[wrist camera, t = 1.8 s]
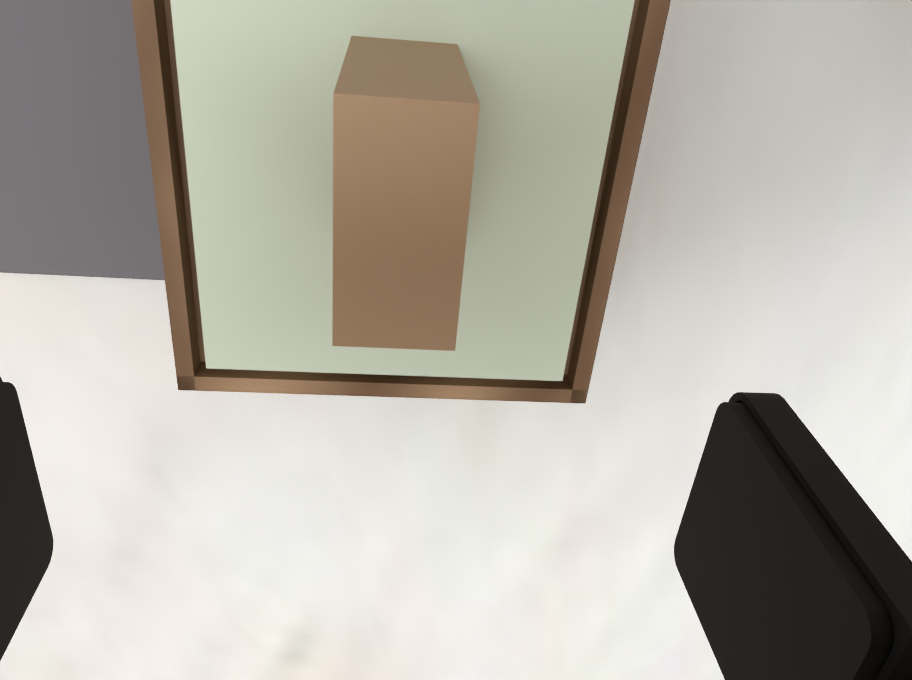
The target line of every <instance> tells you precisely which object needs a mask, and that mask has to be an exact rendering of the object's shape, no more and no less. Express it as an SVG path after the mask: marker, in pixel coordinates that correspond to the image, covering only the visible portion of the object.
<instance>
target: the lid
mask: <svg viewBox="0 0 912 680" xmlns="http://www.w3.org/2000/svg"><path fill="white" fill-rule="evenodd" d="M634 1H635V0H170V2H171V12H172V22H173V33H174V43H175V53H176V64H177V74H178V84H179V95H180V105H181V115H182V126H183V136H184V146H185V157H186V167H187V177H188V187H189V198H190V208H191V218H192V229H193V239H194V249H195V260H196V270H197V280H198V291H199V301H200V311H201V322H202V332H203V342H204V353H205V363H206V368H209V369H236V370H264V371H292V372H320V373H348V374H376V375H404V376H432V377H460V378H488V379H515V380H543V381H563V376H564V370H565V365H566V360H567V354H568V349H569V344H570V339H571V333H572V328H573V323H574V318H575V312H576V307H577V302H578V296H579V291H580V286H581V281H582V275H583V270H584V265H585V260H586V254H587V249H588V244H589V238H590V233H591V228H592V223H593V217H594V212H595V207H596V201H597V196H598V191H599V186H600V180H601V175H602V170H603V165H604V159H605V154H606V149H607V143H608V138H609V133H610V128H611V122H612V117H613V112H614V106H615V101H616V96H617V91H618V85H619V80H620V75H621V70H622V64H623V59H624V54H625V48H626V43H627V38H628V33H629V27H630V22H631V17H632V12H633V6H634Z"/></svg>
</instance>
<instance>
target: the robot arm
mask: <svg viewBox="0 0 912 680" xmlns="http://www.w3.org/2000/svg"><path fill="white" fill-rule="evenodd" d="M52 551H53V536H52V532H51V528H50V524H49V520H48V516H47V511H46V507H45V503H44V499H43V495H42V491H41V487H40V483H39V479H38V475H37V471H36V467H35V463H34V459H33V455H32V451H31V447H30V443H29V439H28V435H27V431H26V427H25V423H24V419H23V415H22V411H21V407H20V403H19V399H18V395H17V391H16V389H15V387H14V386H13V384H11V383H9V382H2V379H1V377H0V660H1V658H2V656H3V654H4V652H5V651H6V649H7V647H8V645H9V643H10V641H11V639H12V637H13V635H14V633H15V631H16V629H17V627H18V625H19V623H20V621H21V619H22V617H23V615H24V613H25V611H26V609H27V607H28V605H29V603H30V601H31V599H32V597H33V595H34V593H35V591H36V589H37V587H38V585H39V583H40V582H41V580H42V578H43V576H44V574H45V572H46V570H47V568H48V565H49V563H50V560H51V556H52ZM674 556H675V562H676V566H677V569H678V571H679V573H680V576H681V578H682V580H683V583H684V585H685V587H686V590H687V592H688V594H689V597H690V599H691V601H692V604H693V606H694V608H695V611H696V613H697V615H698V618H699V620H700V622H701V625H702V627H703V629H704V632H705V634H706V636H707V639H708V641H709V643H710V646H711V648H712V650H713V653H714V655H715V657H716V660H717V662H718V664H719V667H720V669H721V671H722V674H723V676H724V679H725V680H912V562H911V560H910V559H909V558H908V556H907V555H906V554H905V553H904V551H903V550H902V549H901V548H900V546H899V545H898V544H897V542H896V541H895V540H894V539H893V537H892V536H891V535H890V533H889V532H888V531H887V530H886V528H885V527H884V526H883V525H882V523H881V522H880V521H879V519H878V518H877V517H876V516H875V514H874V513H873V512H872V510H871V509H870V508H869V507H868V505H867V504H866V503H865V502H864V500H863V499H862V498H861V496H860V495H859V494H858V493H857V491H856V490H855V489H854V488H853V486H852V485H851V484H850V482H849V481H848V480H847V479H846V477H845V476H844V475H843V473H842V472H841V471H840V470H839V468H838V467H837V466H836V465H835V463H834V462H833V461H832V459H831V458H830V457H829V456H828V454H827V453H826V452H825V450H824V449H823V448H822V447H821V445H820V444H819V443H818V442H817V440H816V439H815V438H814V436H813V435H812V434H811V433H810V431H809V430H808V429H807V427H806V426H805V425H804V424H803V422H802V421H801V420H800V419H799V417H798V416H797V415H796V413H795V412H794V411H793V410H792V408H791V407H790V406H789V405H788V403H787V402H786V401H785V399H784V398H783V397H781V396H780V395H779V394H775V393H743V392H738V393H736V394H734V395H733V396H732V397H731V398H730V400H729V402H724V403H721V404H720V405H719V406H718V408H717V411H716V413H715V417H714V420H713V423H712V426H711V429H710V432H709V436H708V439H707V442H706V445H705V448H704V451H703V454H702V458H701V461H700V464H699V467H698V470H697V473H696V477H695V480H694V483H693V486H692V489H691V492H690V495H689V499H688V502H687V505H686V508H685V511H684V514H683V518H682V521H681V524H680V527H679V530H678V533H677V536H676V540H675V545H674Z"/></svg>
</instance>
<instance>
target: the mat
mask: <svg viewBox="0 0 912 680" xmlns="http://www.w3.org/2000/svg"><path fill="white" fill-rule="evenodd" d="M0 272H4V273H25V274H47V275H68V276H89V277H111V278H132V279H153V280H165V276H164V267H163V259H162V251H161V242H160V234H159V226H158V218H157V209H156V201H155V193H154V185H153V176H152V168H151V160H150V152H149V143H148V135H147V127H146V119H145V110H144V102H143V94H142V86H141V77H140V69H139V61H138V53H137V44H136V36H135V28H134V20H133V11H132V3H131V0H0Z"/></svg>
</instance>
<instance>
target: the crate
mask: <svg viewBox="0 0 912 680" xmlns="http://www.w3.org/2000/svg"><path fill="white" fill-rule="evenodd" d="M670 1H671V0H635V1H634V6H633V12H632V17H631V22H630V27H629V33H628V38H627V43H626V48H625V54H624V59H623V64H622V70H621V75H620V80H619V85H618V91H617V96H616V101H615V106H614V112H613V117H612V122H611V128H610V133H609V138H608V143H607V149H606V154H605V159H604V165H603V170H602V175H601V180H600V186H599V191H598V196H597V201H596V207H595V212H594V217H593V223H592V228H591V233H590V238H589V244H588V249H587V254H586V260H585V265H584V270H583V275H582V281H581V286H580V291H579V296H578V302H577V307H576V312H575V318H574V323H573V328H572V333H571V339H570V344H569V349H568V354H567V360H566V365H565V370H564V376H563V381H543V380H515V379H488V378H460V377H432V376H404V375H376V374H348V373H320V372H292V371H264V370H236V369H209V368H206V363H205V353H204V342H203V332H202V322H201V311H200V301H199V291H198V280H197V270H196V260H195V249H194V239H193V229H192V218H191V208H190V198H189V187H188V177H187V167H186V157H185V146H184V136H183V126H182V115H181V105H180V95H179V84H178V74H177V64H176V53H175V43H174V33H173V22H172V12H171V2H170V0H131V3H132V11H133V20H134V28H135V36H136V44H137V53H138V61H139V69H140V77H141V86H142V94H143V102H144V110H145V119H146V127H147V135H148V143H149V152H150V160H151V168H152V176H153V185H154V193H155V201H156V209H157V218H158V226H159V234H160V242H161V251H162V259H163V267H164V276H165V284H166V292H167V300H168V309H169V317H170V325H171V333H172V342H173V350H174V358H175V366H176V375H177V383H178V390H197V391H227V392H257V393H288V394H318V395H348V396H379V397H409V398H439V399H470V400H500V401H531V402H561V403H585V402H586V397H587V393H588V388H589V383H590V379H591V374H592V369H593V364H594V360H595V355H596V350H597V346H598V341H599V336H600V331H601V327H602V322H603V317H604V312H605V308H606V303H607V298H608V294H609V289H610V284H611V279H612V275H613V270H614V265H615V261H616V256H617V251H618V246H619V242H620V237H621V232H622V227H623V223H624V218H625V213H626V209H627V204H628V199H629V194H630V190H631V185H632V180H633V175H634V171H635V166H636V161H637V157H638V152H639V147H640V142H641V138H642V133H643V128H644V124H645V119H646V114H647V109H648V105H649V100H650V95H651V90H652V86H653V81H654V76H655V72H656V67H657V62H658V57H659V53H660V48H661V43H662V39H663V34H664V29H665V24H666V20H667V15H668V10H669V5H670Z"/></svg>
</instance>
